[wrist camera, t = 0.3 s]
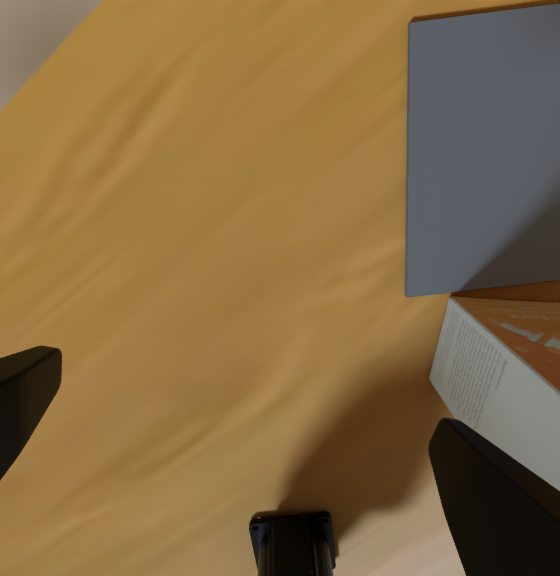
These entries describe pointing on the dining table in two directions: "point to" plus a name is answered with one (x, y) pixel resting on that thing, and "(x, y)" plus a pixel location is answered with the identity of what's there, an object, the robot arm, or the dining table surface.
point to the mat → (483, 151)
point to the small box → (504, 376)
